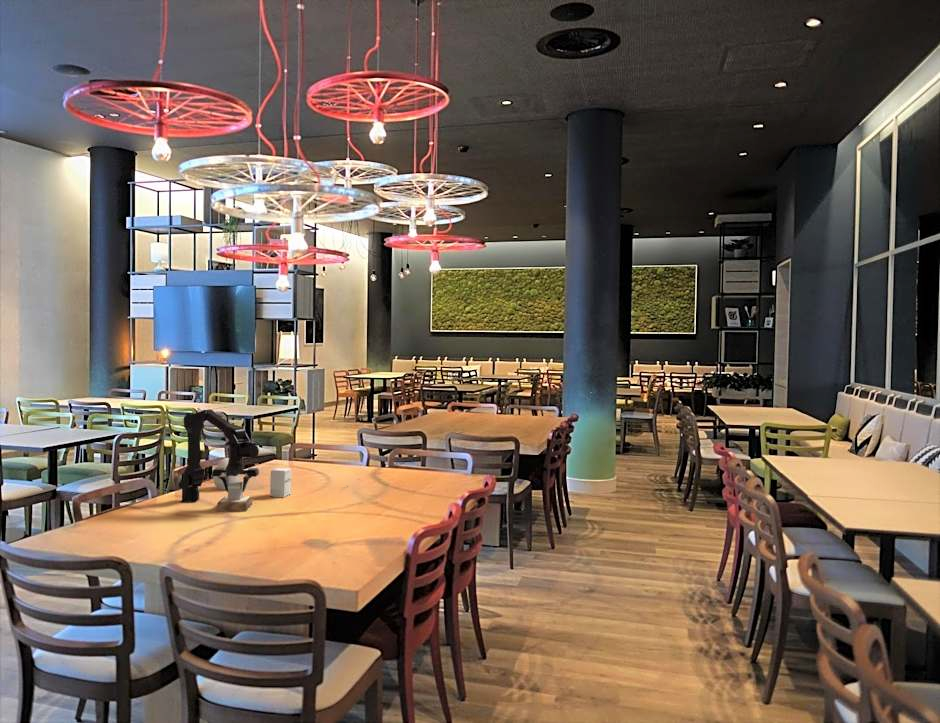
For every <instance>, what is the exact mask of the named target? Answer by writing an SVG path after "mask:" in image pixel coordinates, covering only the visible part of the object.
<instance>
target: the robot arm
mask: <svg viewBox="0 0 940 723" xmlns="http://www.w3.org/2000/svg"><path fill="white" fill-rule="evenodd" d="M205 422H209V424H211V425H212V426H214V427H216V428H217V429H219V430H220V431H221V432H222V433H223V436H224V437H225V438H226V439H227V440H228V441H227V442H226V443H225V444H224V445H225V446H229V447H228V449H229V450H228V458H229V461H228V465H227V467H226V470H225V469H224V468H216V467H214V469H213V470H212V471H211V476H212V477H213V476H219V477H218V478H220V479H221V480H222V481H223V483H224V486H225V488H226V490H225V492H226V493H228V476H237V475H238V474H240V475H244V476H243V477H242V479H243V481H242V482H243V488H242V492H243V493H244V492H245V490H246V487H247V484H248V483H249V480H250V479H251V478H253V477H257V476H258V475H260V470H259V468H257V467H250V468H248V469H246V470H245V469H244V463H243V462H244V458H247V459H256V458H257V457H258V455H259V452H260V448H259V447H258V446H257V445H256V442H255V441H253V442H251V439H250V438H249V436H248V434H247V432H246V429H245V428H244V427H243V426H241V425H238V424H234V423H230V422H229V421H228V420H227V419H225V418H223V417H222V416H221V415H219V414H218V413H217V412H215V411H214V410H213V409H210V408H209V409H203V410H201V411H198V412H194V413H186V414H185V416H184V417H183V426H184V429H185V431H186V432H187V466H186V468H185V469H184V471H183V478H182V479H181V480H180V481H179V482H178V483H177V484H178V488H179V489H181V500H180V503H196V502H197V501H199V500H200V489H199V487H201V486H202V484H203V482H204V478H205V477H206V476H205V468H203V467H202V466H201V462H200V461H201V460H200V459H201V455H200V454H201V453H200V450H201V448H200V447H201V446H200V444H201V441H200V440H201V437H200V436H201V435H200V434H201V431H202V429H203V428H204V423H205Z"/></svg>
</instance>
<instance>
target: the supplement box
mask: <svg viewBox="0 0 940 723" xmlns="http://www.w3.org/2000/svg"><path fill="white" fill-rule="evenodd" d="M269 485H270V487H269V488H270V490H269V492H270V493H269V496H273V497H272V498H282V497H284V498H286V497H288V496H290V495H291V493H292V492H291V491H292V468H286V467H285V468H284V467H277V468H273V469H271V470H270V484H269ZM289 494H290V495H289ZM287 495H288V496H287ZM285 496H286V497H285Z"/></svg>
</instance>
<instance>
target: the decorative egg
mask: <svg viewBox="0 0 940 723" xmlns="http://www.w3.org/2000/svg"><path fill="white" fill-rule="evenodd" d="M228 461H229V457H225V458H223V459H221V460H220V461H218V463H217V464H216V466H215V468H224V469H225V470H226V467H227V465H228ZM240 475H241V474H238V475H237V476H228V484H229V483H230V482H240V478H241V477H240ZM218 477H219V476H212V479H213V484H214V486H215V487H216V489H217V490H219V489H221V490H220V491H226V488H225V486H224V483H223V481H222V480H221V479H220V478H218Z"/></svg>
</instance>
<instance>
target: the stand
mask: <svg viewBox="0 0 940 723" xmlns="http://www.w3.org/2000/svg"><path fill="white" fill-rule="evenodd" d="M216 505H217V512H247V511H248V510H249V509H250V508H251V507H252V506H251V505H253V496H245V495H244V496H243V495H242V498H241V499H240V500H228V495H226V496H223V498H221V499H220V500H218V502H217V504H216ZM250 506H251V507H250ZM248 508H249V509H248Z"/></svg>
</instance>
